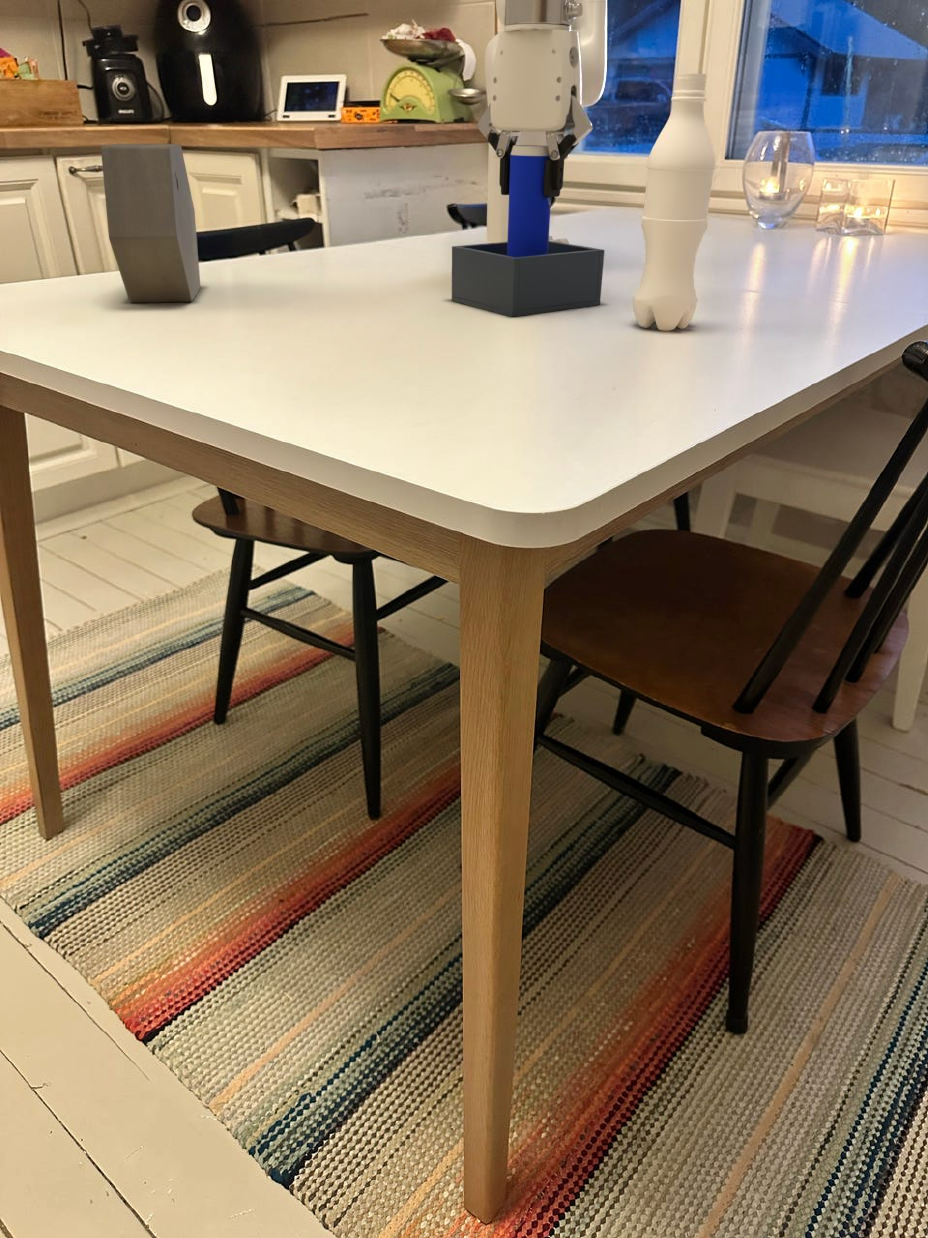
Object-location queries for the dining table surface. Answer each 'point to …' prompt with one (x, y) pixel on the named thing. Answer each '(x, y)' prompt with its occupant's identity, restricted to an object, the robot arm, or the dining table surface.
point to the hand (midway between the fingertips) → (530, 193)
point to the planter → (151, 221)
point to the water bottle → (675, 210)
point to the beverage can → (528, 202)
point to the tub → (526, 278)
